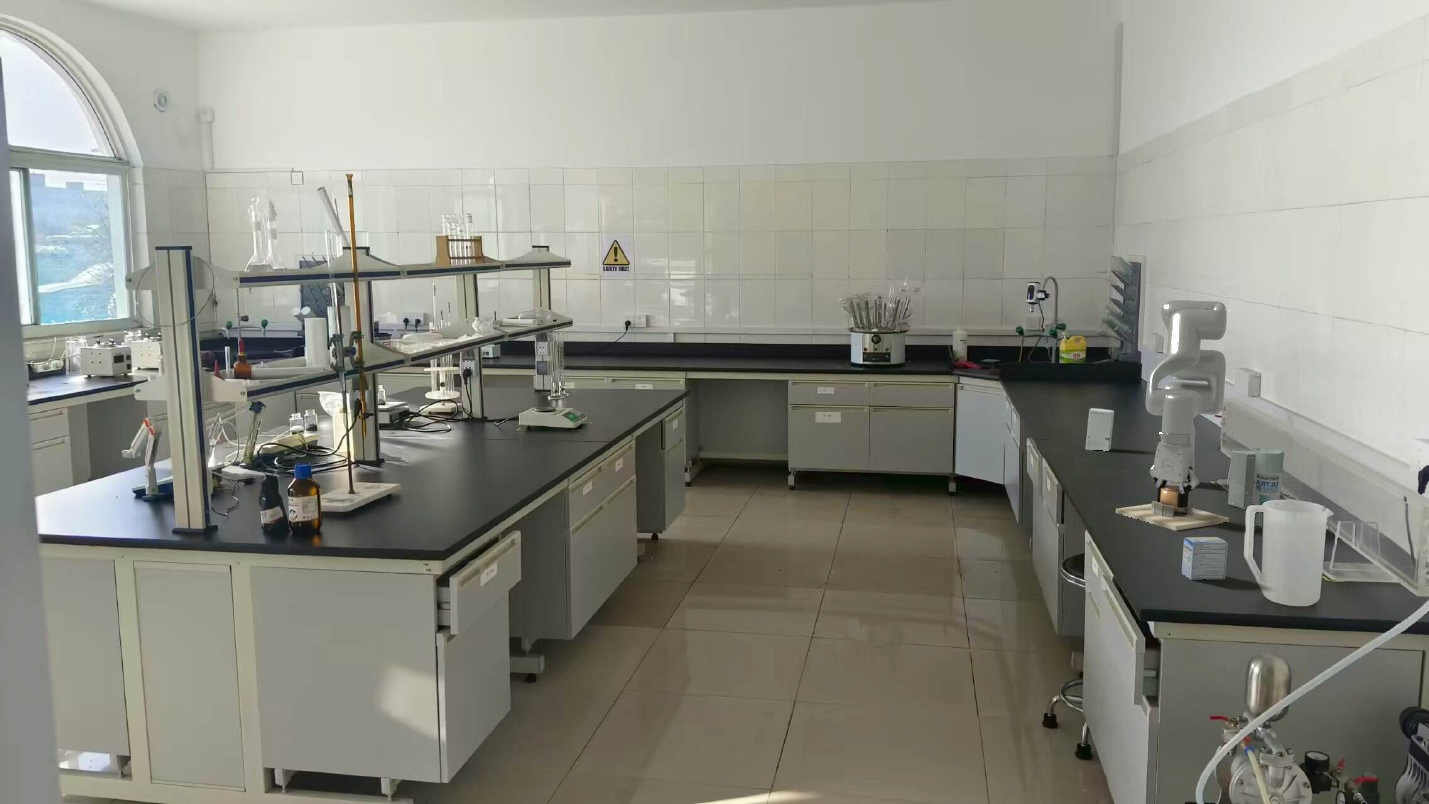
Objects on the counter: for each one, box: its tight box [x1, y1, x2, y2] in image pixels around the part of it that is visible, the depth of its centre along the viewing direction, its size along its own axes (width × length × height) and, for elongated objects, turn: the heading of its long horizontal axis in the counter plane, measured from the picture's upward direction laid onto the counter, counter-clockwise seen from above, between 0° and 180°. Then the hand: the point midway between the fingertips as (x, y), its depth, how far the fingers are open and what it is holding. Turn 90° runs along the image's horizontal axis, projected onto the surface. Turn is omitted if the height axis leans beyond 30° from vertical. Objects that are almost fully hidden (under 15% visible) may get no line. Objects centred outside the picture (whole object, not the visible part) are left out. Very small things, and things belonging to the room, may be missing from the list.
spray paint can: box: [1252, 448, 1285, 529], centre depth 274 cm, size 6×6×20 cm
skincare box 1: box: [1085, 407, 1115, 452], centre depth 377 cm, size 8×6×15 cm
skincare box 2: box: [1227, 450, 1256, 510], centre depth 295 cm, size 8×7×16 cm
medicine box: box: [1181, 536, 1229, 581], centre depth 231 cm, size 8×4×9 cm, turn 92°
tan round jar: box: [1160, 485, 1182, 509], centre depth 282 cm, size 6×6×5 cm
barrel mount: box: [1115, 500, 1230, 532], centre depth 283 cm, size 20×20×4 cm
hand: (1172, 503), depth 282 cm, fingers closed on tan round jar, 6 cm apart
